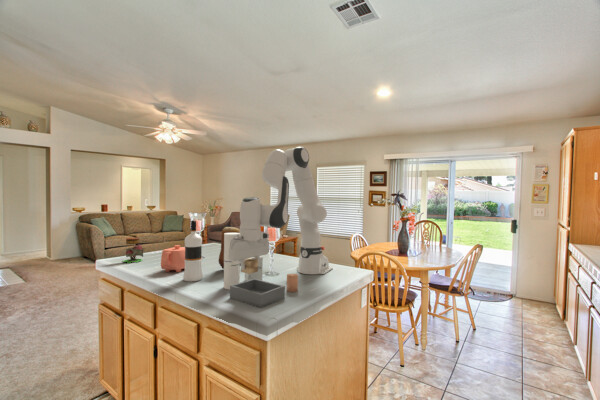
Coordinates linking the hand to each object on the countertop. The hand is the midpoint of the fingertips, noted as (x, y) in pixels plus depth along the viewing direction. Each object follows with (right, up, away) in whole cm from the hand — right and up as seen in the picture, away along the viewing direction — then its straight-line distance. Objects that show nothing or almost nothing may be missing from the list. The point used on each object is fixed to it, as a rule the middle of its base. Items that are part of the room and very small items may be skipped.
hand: (249, 267), depth 123 cm
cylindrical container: (-10, -12, +12) cm, 20 cm away
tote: (+4, -12, -3) cm, 13 cm away
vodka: (-33, -12, +24) cm, 42 cm away
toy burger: (-86, -11, +64) cm, 108 cm away
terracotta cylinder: (+18, -12, +8) cm, 23 cm away
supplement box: (-2, -12, +21) cm, 25 cm away
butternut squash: (-18, -12, +43) cm, 48 cm away
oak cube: (0, -2, 0) cm, 2 cm away
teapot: (-49, -12, +43) cm, 67 cm away
